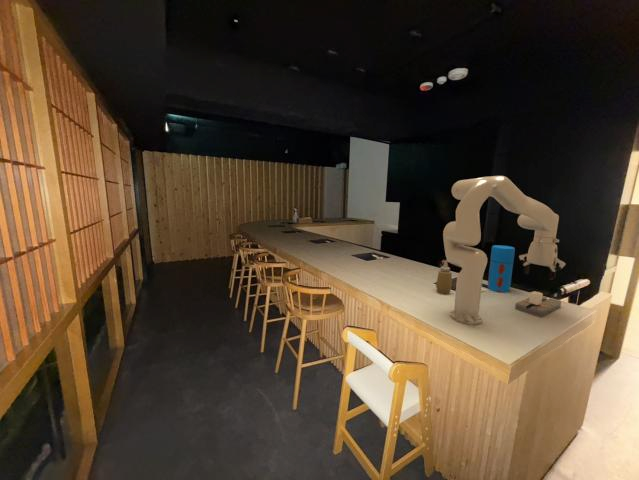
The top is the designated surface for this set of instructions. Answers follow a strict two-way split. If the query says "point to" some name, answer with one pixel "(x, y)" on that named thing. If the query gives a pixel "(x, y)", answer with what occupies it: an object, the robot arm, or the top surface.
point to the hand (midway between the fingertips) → (538, 276)
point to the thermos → (501, 268)
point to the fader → (535, 298)
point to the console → (538, 306)
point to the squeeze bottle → (444, 280)
